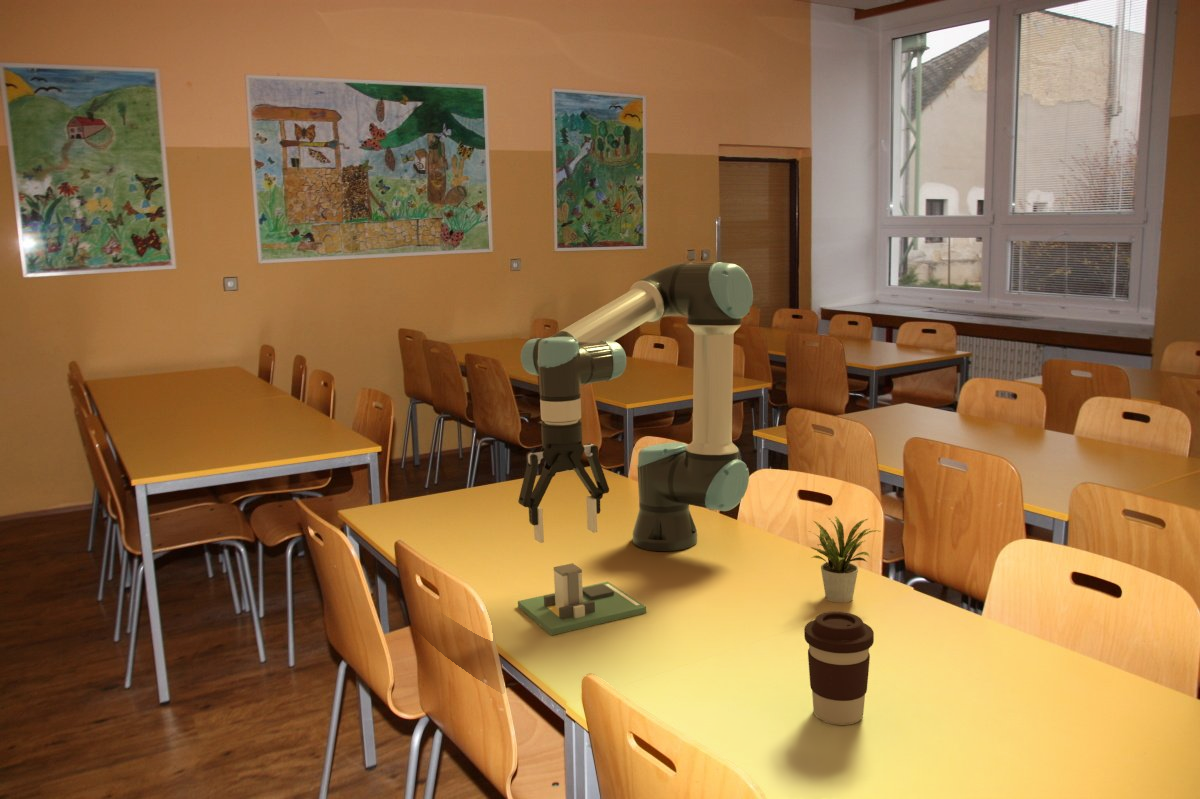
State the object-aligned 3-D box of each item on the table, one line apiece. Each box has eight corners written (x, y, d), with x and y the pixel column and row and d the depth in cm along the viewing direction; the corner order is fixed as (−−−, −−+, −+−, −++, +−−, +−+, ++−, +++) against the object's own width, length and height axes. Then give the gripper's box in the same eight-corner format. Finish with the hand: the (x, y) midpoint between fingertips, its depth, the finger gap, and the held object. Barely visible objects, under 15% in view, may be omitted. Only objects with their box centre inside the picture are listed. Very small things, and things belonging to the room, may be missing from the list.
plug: (574, 602, 189) (572, 563, 188) (584, 610, 185) (582, 570, 184) (555, 606, 188) (553, 567, 186) (565, 614, 184) (563, 574, 182)
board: (607, 587, 200) (607, 572, 200) (646, 612, 186) (646, 596, 186) (517, 606, 192) (517, 591, 191) (551, 635, 178) (550, 618, 177)
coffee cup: (796, 701, 150) (796, 609, 147) (859, 696, 151) (860, 604, 148) (815, 733, 140) (816, 635, 138) (882, 728, 141) (884, 630, 138)
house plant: (889, 589, 194) (890, 510, 191) (877, 615, 181) (879, 531, 178) (817, 581, 200) (817, 504, 197) (801, 605, 187) (801, 523, 184)
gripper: (606, 410, 189) (610, 520, 192) (495, 425, 178) (502, 540, 182) (625, 416, 182) (628, 530, 186) (511, 432, 172) (517, 551, 176)
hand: (566, 535), depth 184 cm, fingers open, 10 cm apart
